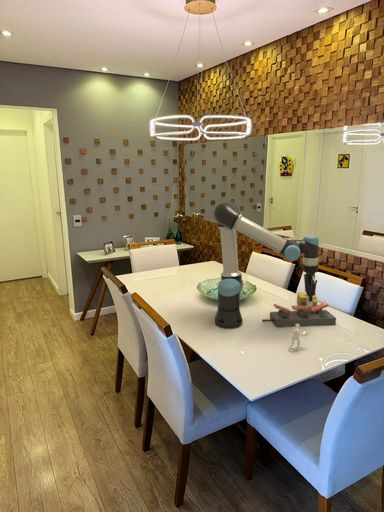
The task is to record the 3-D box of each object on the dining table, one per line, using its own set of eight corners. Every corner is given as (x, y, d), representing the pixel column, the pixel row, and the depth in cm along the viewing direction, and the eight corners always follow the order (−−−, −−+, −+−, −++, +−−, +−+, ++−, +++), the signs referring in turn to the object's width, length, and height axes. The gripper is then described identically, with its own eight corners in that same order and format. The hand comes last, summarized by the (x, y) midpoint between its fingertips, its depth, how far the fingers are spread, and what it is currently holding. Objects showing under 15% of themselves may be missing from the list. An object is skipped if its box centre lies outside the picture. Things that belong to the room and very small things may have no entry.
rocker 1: (275, 309, 190) (276, 306, 190) (273, 306, 194) (274, 303, 194) (290, 314, 191) (291, 311, 191) (287, 311, 195) (289, 308, 195)
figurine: (285, 349, 162) (286, 325, 159) (298, 344, 167) (300, 320, 164) (294, 353, 158) (295, 328, 155) (307, 347, 163) (308, 323, 160)
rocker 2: (293, 311, 191) (294, 308, 191) (291, 308, 195) (291, 305, 195) (310, 311, 192) (310, 308, 191) (307, 308, 196) (307, 305, 195)
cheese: (317, 314, 202) (318, 298, 200) (297, 313, 204) (298, 297, 202) (314, 308, 212) (315, 292, 210) (296, 307, 214) (297, 291, 212)
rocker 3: (313, 313, 192) (312, 310, 192) (310, 311, 196) (309, 308, 196) (329, 307, 192) (328, 304, 192) (325, 304, 196) (324, 301, 195)
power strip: (265, 327, 185) (265, 318, 184) (259, 318, 197) (259, 309, 196) (335, 325, 187) (336, 315, 186) (325, 316, 199) (326, 307, 198)
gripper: (322, 267, 182) (321, 310, 187) (312, 261, 195) (311, 301, 200) (308, 268, 181) (307, 311, 187) (299, 262, 194) (298, 302, 199)
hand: (309, 306), depth 193 cm, fingers closed
